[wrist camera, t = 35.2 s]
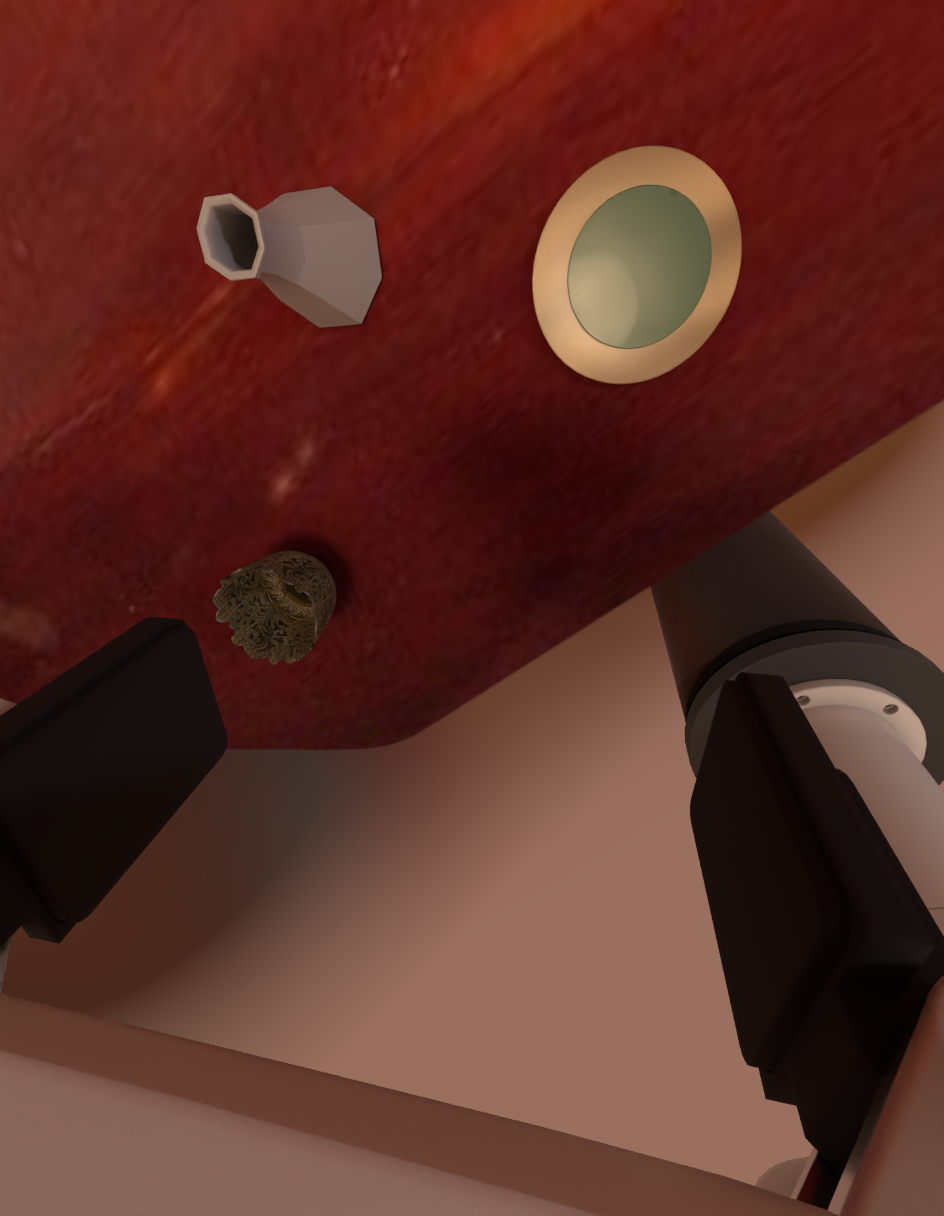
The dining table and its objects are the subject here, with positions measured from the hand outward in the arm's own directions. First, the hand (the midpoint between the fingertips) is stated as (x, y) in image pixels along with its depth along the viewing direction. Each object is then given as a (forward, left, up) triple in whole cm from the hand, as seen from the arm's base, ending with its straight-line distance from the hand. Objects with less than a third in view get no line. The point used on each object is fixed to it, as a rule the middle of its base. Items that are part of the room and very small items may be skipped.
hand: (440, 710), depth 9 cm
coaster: (+5, -8, -28) cm, 30 cm away
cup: (-1, +21, -28) cm, 35 cm away
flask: (+15, +7, -28) cm, 33 cm away
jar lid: (+5, -8, -26) cm, 28 cm away
